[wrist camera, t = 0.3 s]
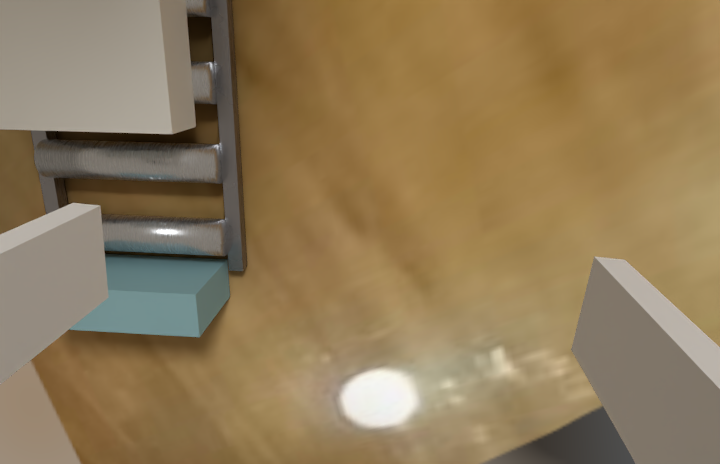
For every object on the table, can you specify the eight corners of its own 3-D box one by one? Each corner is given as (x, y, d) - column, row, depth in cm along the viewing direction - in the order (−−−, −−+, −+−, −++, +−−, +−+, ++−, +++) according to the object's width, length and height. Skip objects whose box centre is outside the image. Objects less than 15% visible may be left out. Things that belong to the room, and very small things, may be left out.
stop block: (81, 252, 45) (25, 285, 38) (227, 259, 44) (195, 294, 37) (87, 289, 46) (34, 327, 39) (229, 296, 45) (199, 337, 38)
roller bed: (63, 256, 45) (40, 270, 42) (-9, -148, 36) (-45, -166, 33) (247, 265, 44) (236, 279, 41) (223, -151, 34) (206, -170, 31)
